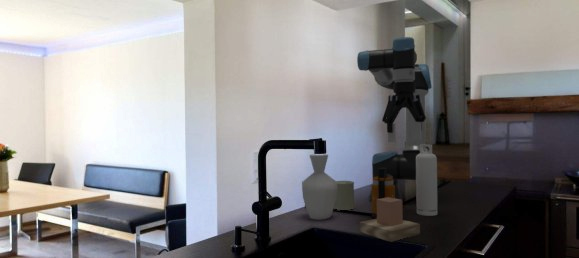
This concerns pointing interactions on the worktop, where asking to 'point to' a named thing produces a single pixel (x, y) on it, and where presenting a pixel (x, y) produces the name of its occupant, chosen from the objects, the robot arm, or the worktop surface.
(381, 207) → the tower block
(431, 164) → the bottle
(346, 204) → the can
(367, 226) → the plinth block
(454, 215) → the worktop surface
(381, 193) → the canister
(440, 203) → the worktop surface
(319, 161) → the vase
